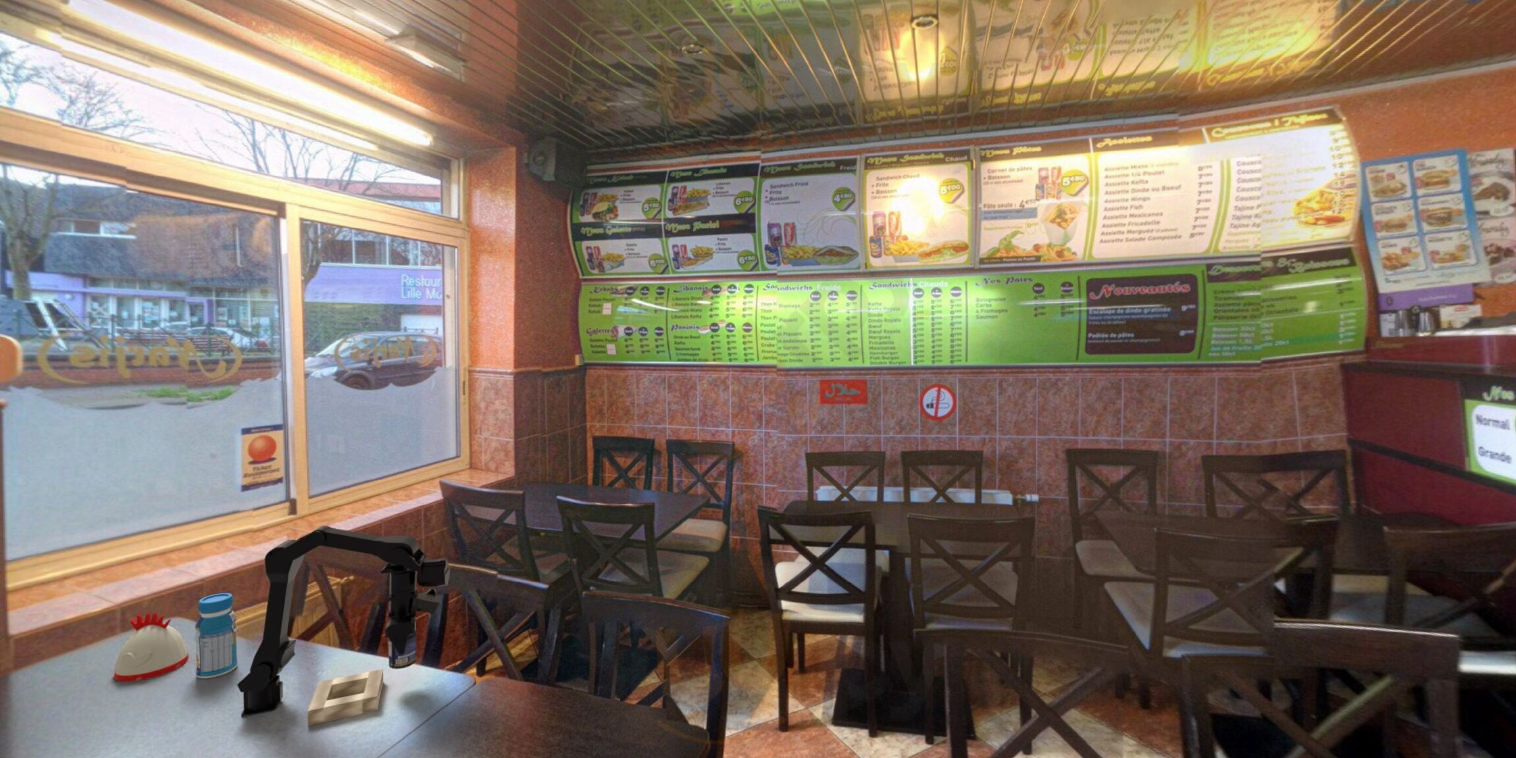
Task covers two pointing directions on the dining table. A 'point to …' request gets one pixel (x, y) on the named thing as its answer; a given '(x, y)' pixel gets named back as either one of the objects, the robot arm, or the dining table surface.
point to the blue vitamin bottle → (216, 636)
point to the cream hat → (150, 650)
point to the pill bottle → (408, 656)
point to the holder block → (347, 706)
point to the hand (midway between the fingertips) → (402, 648)
